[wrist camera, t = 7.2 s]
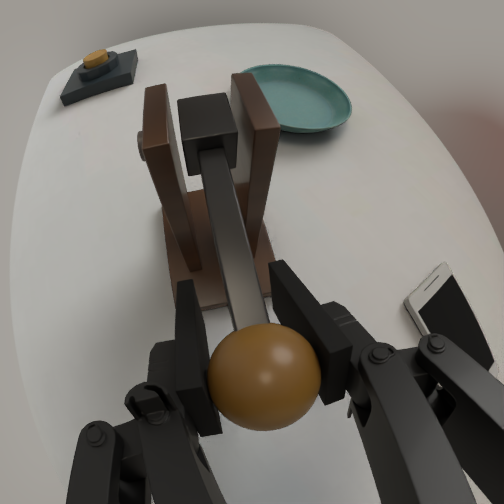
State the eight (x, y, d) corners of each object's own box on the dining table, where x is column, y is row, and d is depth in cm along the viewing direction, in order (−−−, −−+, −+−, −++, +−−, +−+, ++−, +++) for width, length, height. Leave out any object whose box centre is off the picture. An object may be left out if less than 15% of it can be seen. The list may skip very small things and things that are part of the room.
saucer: (316, 166, 26) (323, 149, 24) (205, 111, 29) (204, 93, 26) (360, 110, 32) (366, 95, 29) (270, 69, 34) (272, 55, 32)
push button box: (64, 106, 30) (56, 88, 26) (77, 78, 33) (71, 61, 30) (133, 83, 32) (128, 62, 28) (138, 58, 35) (134, 40, 32)
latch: (313, 401, 9) (350, 421, 6) (223, 424, 9) (221, 459, 5) (238, 133, 14) (241, 80, 10) (170, 145, 13) (159, 92, 10)
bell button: (83, 72, 28) (80, 64, 27) (88, 62, 30) (86, 54, 28) (106, 64, 29) (103, 55, 27) (110, 55, 30) (108, 46, 29)
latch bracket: (281, 293, 21) (351, 182, 8) (179, 315, 20) (96, 228, 7) (250, 188, 25) (266, 49, 12) (163, 205, 23) (120, 70, 11)
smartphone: (463, 419, 16) (469, 420, 15) (402, 301, 21) (407, 298, 20) (494, 373, 18) (500, 372, 17) (440, 263, 23) (445, 259, 22)
